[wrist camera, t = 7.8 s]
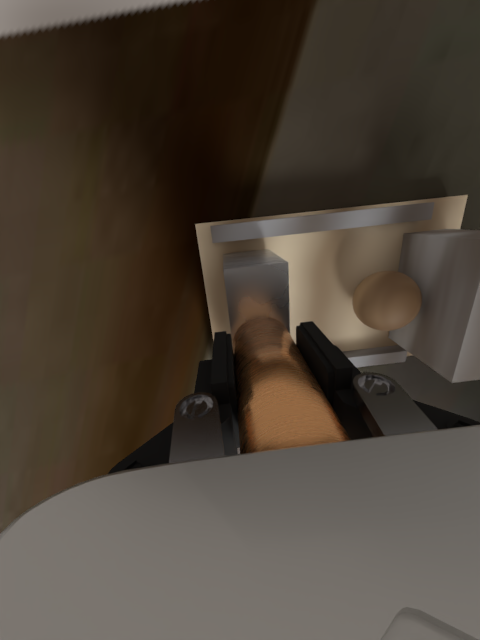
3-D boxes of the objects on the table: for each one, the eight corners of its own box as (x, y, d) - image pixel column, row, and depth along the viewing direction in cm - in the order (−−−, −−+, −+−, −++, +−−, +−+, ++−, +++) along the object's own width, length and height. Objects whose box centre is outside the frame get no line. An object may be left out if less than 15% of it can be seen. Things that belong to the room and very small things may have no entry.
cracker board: (448, 196, 18) (594, 182, 11) (418, 344, 22) (507, 401, 15) (197, 223, 17) (179, 226, 10) (219, 368, 22) (217, 437, 15)
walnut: (388, 262, 18) (444, 271, 15) (381, 313, 20) (431, 332, 16) (341, 271, 17) (389, 282, 14) (338, 323, 19) (381, 346, 15)
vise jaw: (268, 248, 16) (409, 343, 4) (273, 353, 20) (363, 594, 7) (223, 253, 16) (222, 366, 4) (235, 357, 19) (258, 608, 7)
